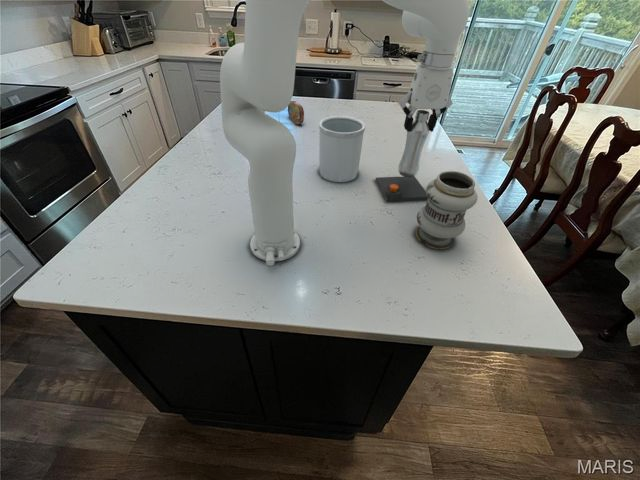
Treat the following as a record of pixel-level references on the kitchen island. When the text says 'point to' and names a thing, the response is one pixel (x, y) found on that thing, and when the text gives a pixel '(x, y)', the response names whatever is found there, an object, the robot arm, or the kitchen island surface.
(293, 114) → the mottled brown slab
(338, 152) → the utensil holder
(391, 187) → the tare button
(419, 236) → the apothecary jar
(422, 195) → the scale
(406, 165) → the plastic bottle
